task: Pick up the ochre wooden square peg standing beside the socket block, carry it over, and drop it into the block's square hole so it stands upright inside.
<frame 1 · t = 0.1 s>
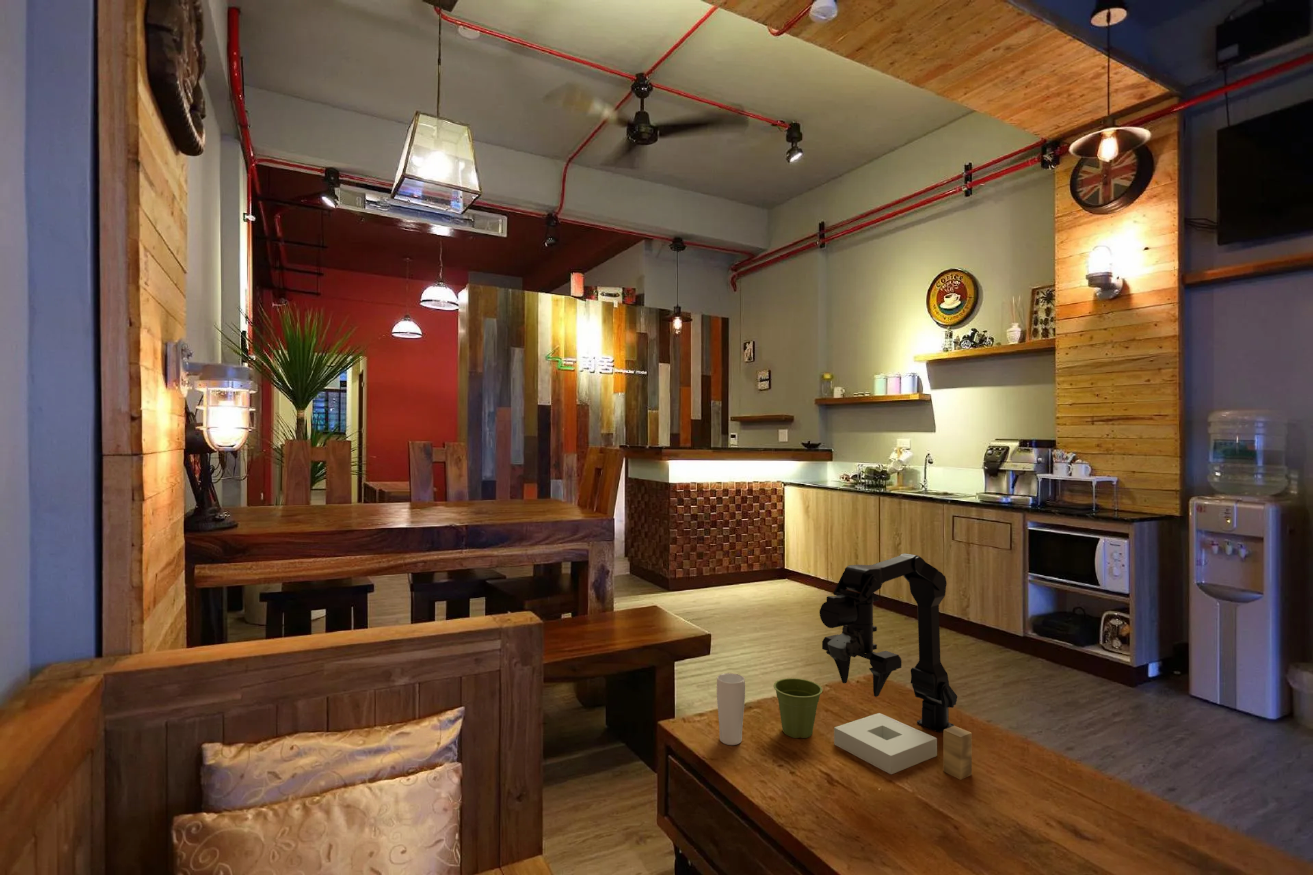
hand: (860, 689, 145), 15 cm above the table, fingers open, 9 cm apart
plant pot: (797, 733, 155), on the table
peg: (957, 772, 136), on the table
drinking glass: (730, 741, 150), on the table
socket block: (884, 749, 146), on the table
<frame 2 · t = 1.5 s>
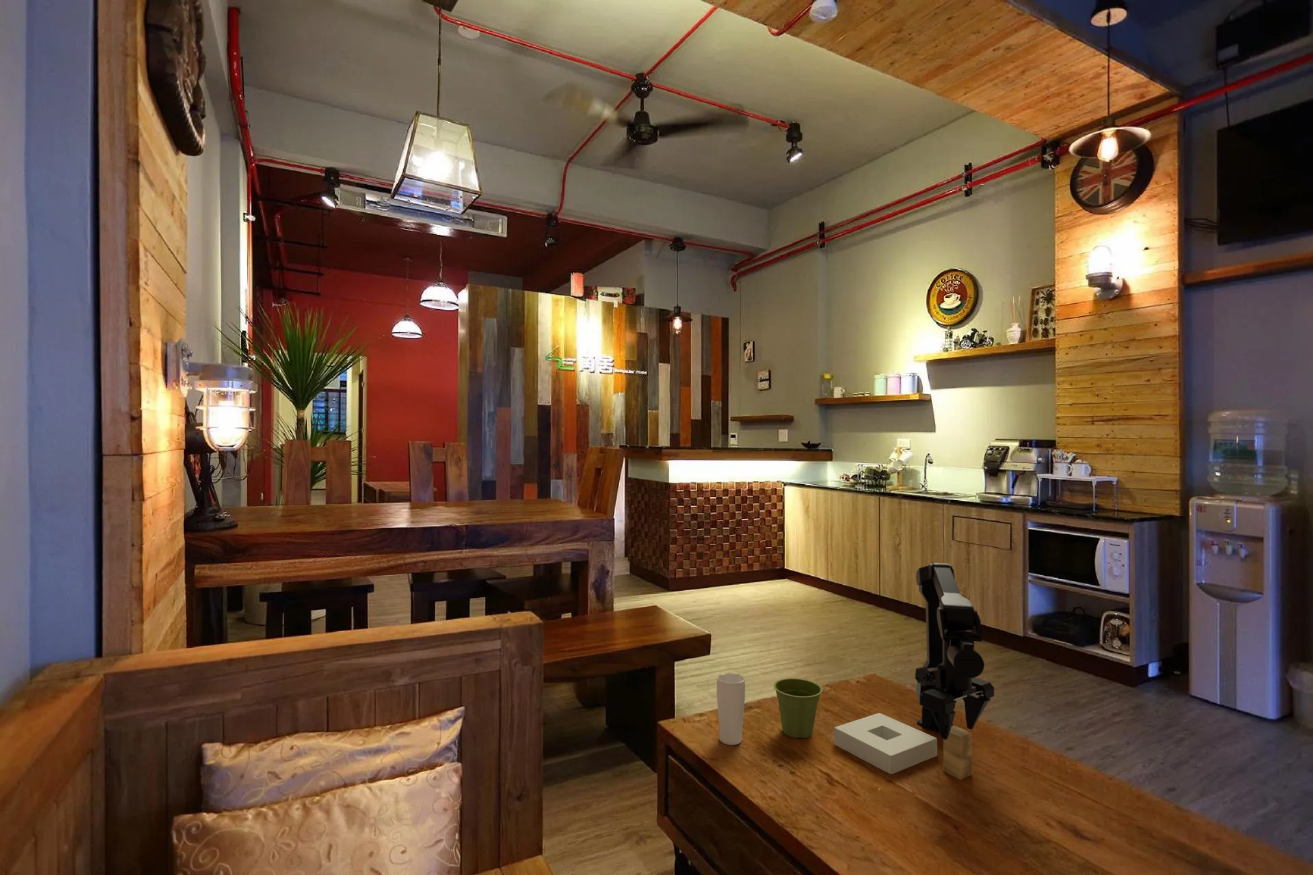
hand: (957, 733, 136), 8 cm above the table, fingers open, 9 cm apart
nothing on the table moved.
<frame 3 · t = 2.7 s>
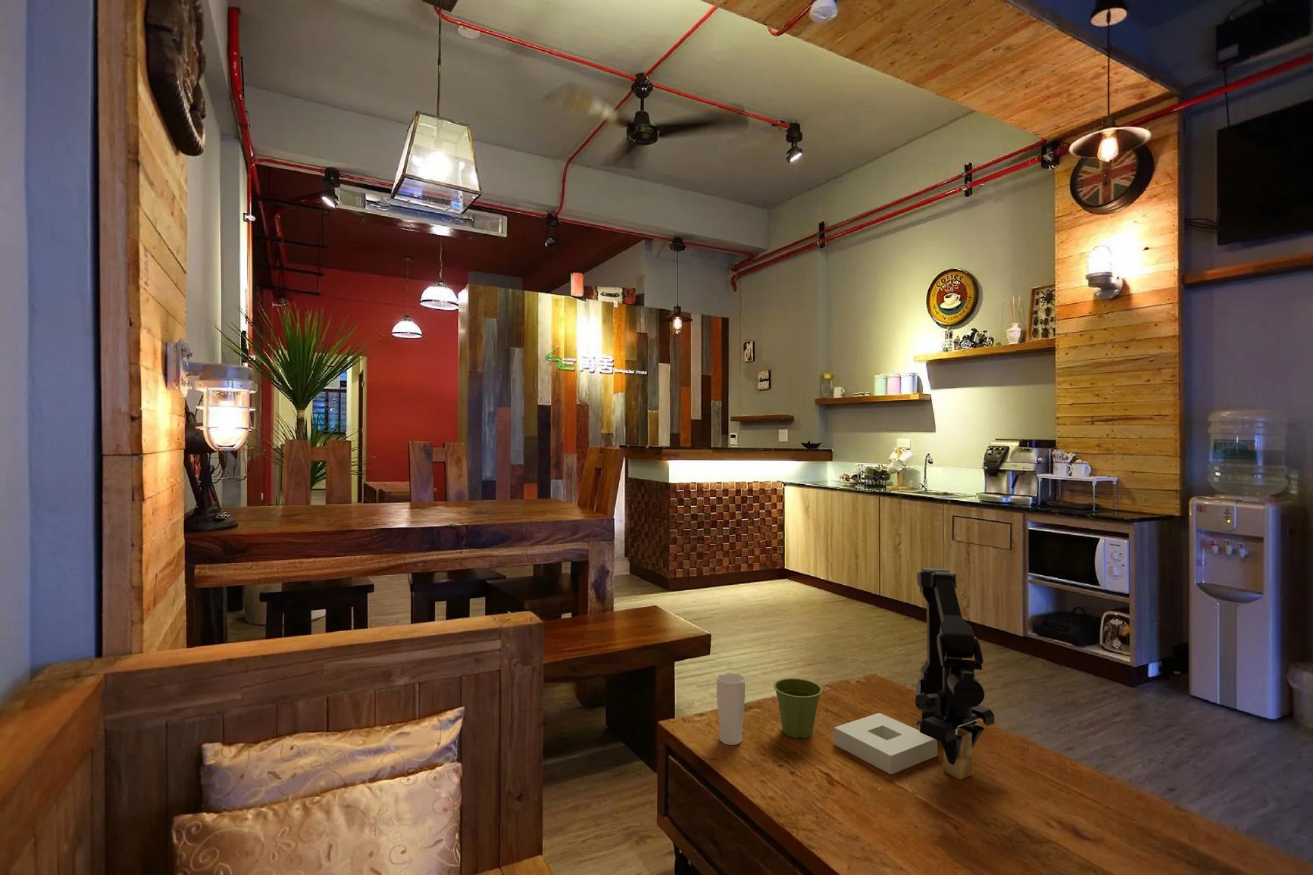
hand: (957, 761, 136), 3 cm above the table, fingers closed on peg, 4 cm apart
peg: (957, 772, 136), on the table, touching gripper
everything else where it was.
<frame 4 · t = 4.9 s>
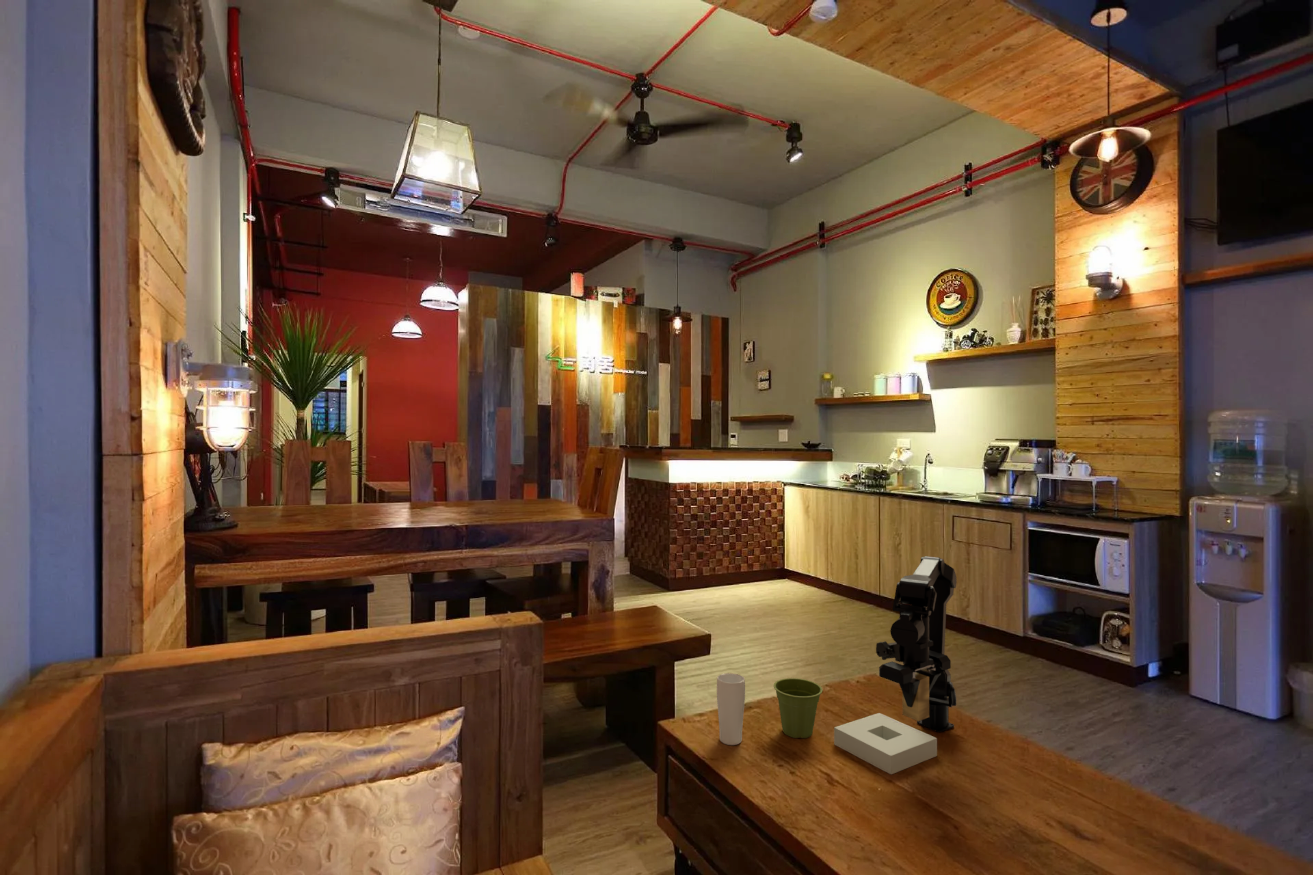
hand: (915, 704, 142), 12 cm above the table, fingers closed on peg, 4 cm apart
peg: (915, 715, 142), point 10 cm above the table, touching gripper
everything else where it was.
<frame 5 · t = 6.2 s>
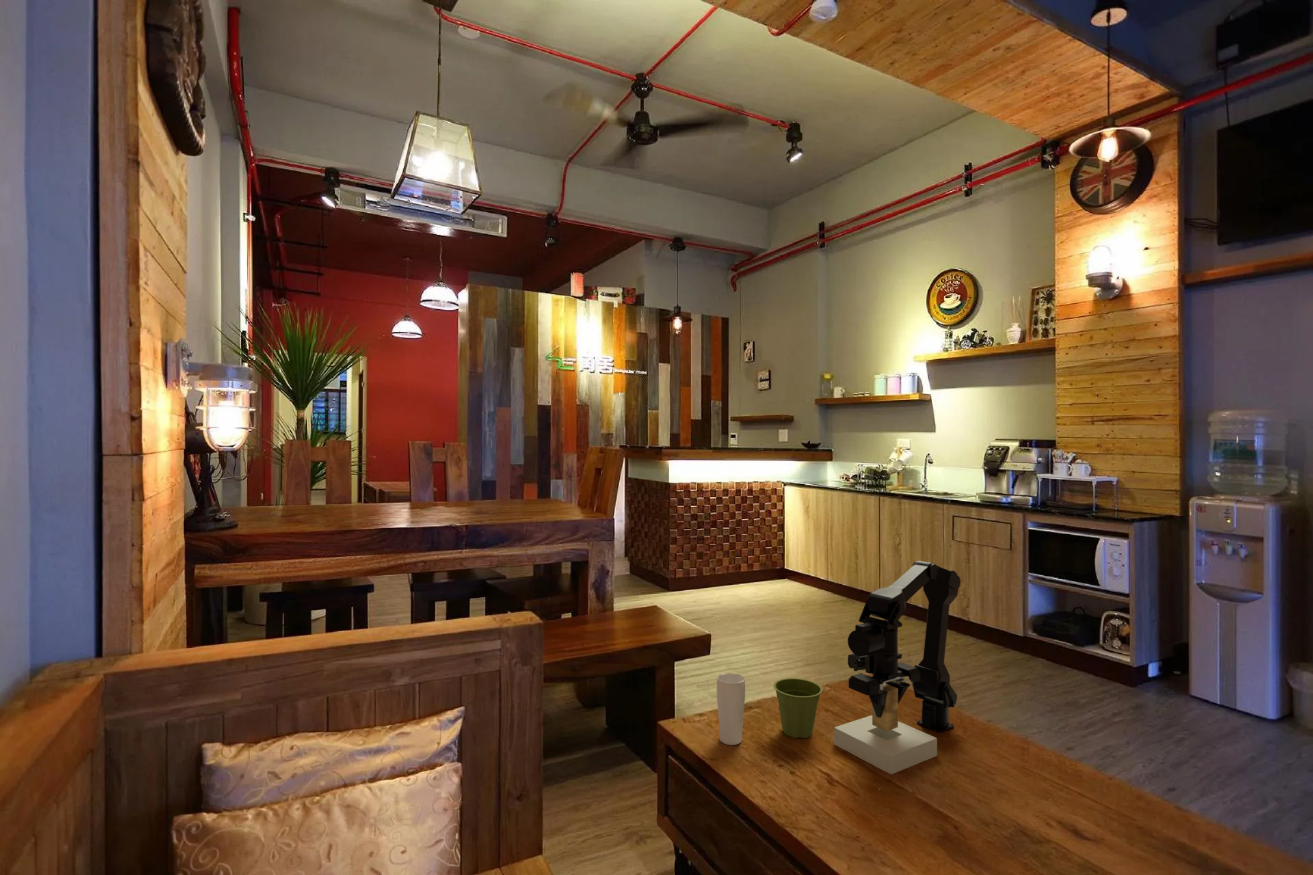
hand: (884, 714, 146), 8 cm above the table, fingers closed on peg, 4 cm apart
peg: (885, 725, 146), point 6 cm above the table, touching gripper
everything else where it was.
when the fingers open (5 cm above the table, at t = 7.1 s): peg drops 2 cm, resting in socket block.
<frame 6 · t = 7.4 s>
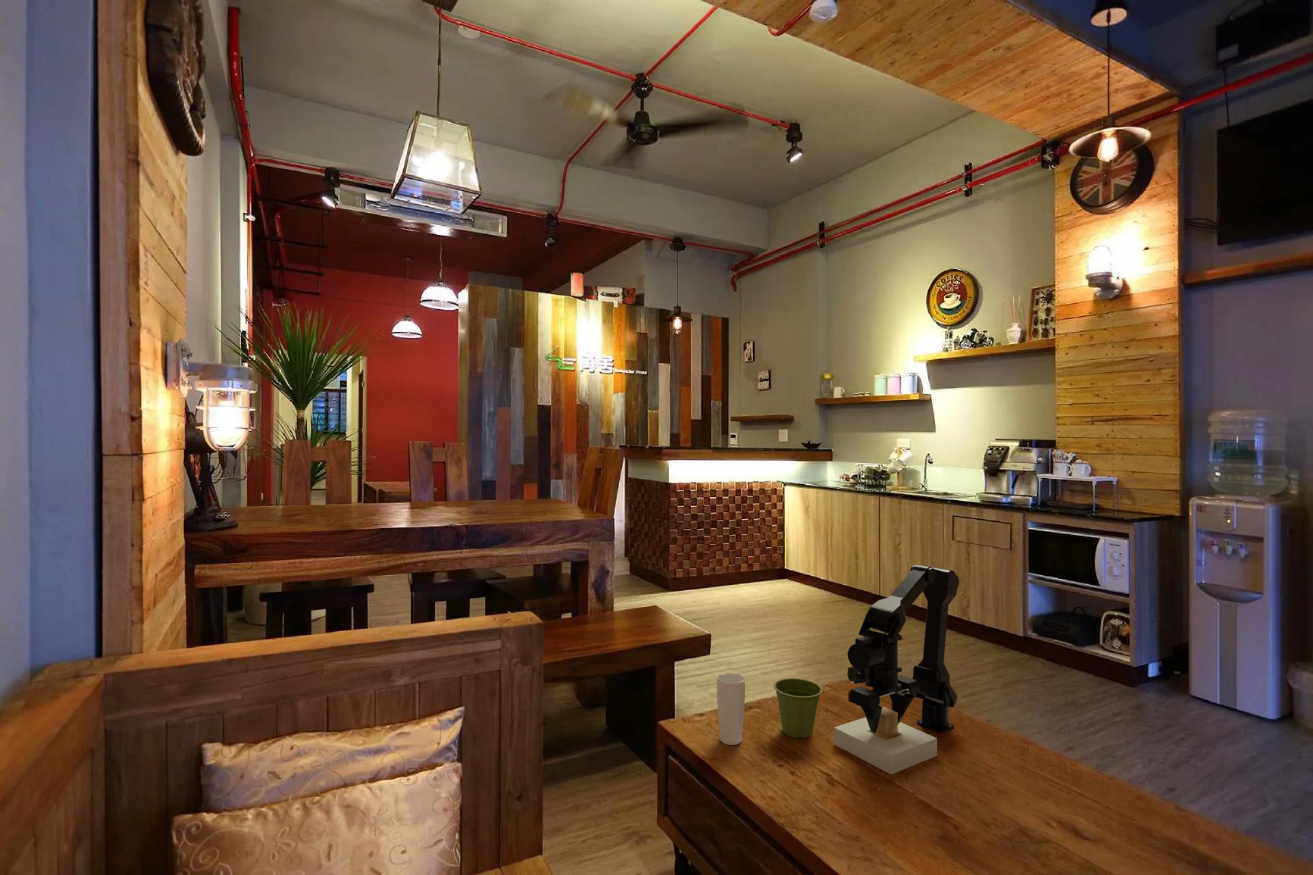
hand: (884, 728, 146), 5 cm above the table, fingers open, 8 cm apart
peg: (884, 750, 146), resting in socket block
everything else where it was.
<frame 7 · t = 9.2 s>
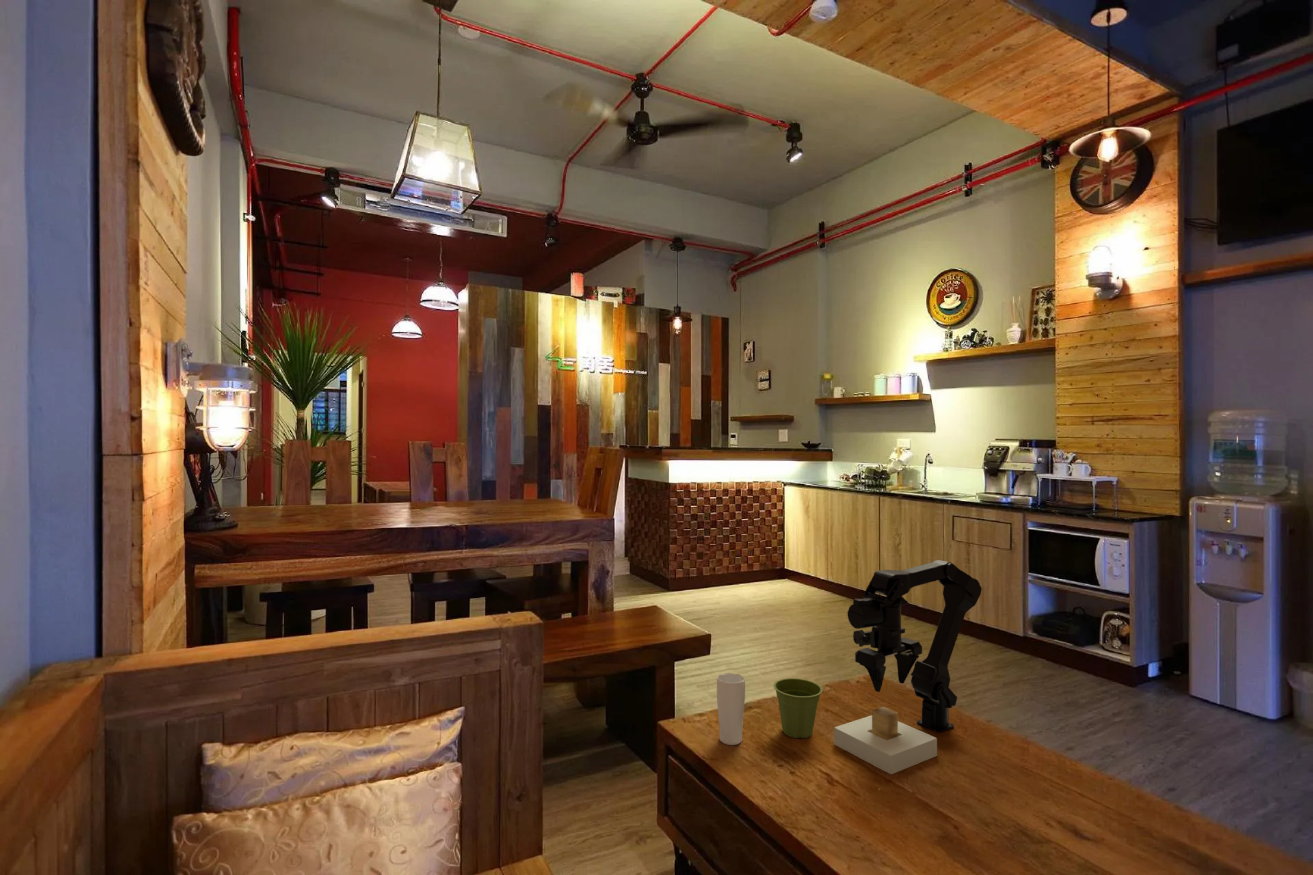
hand: (889, 687, 154), 12 cm above the table, fingers open, 9 cm apart
nothing on the table moved.
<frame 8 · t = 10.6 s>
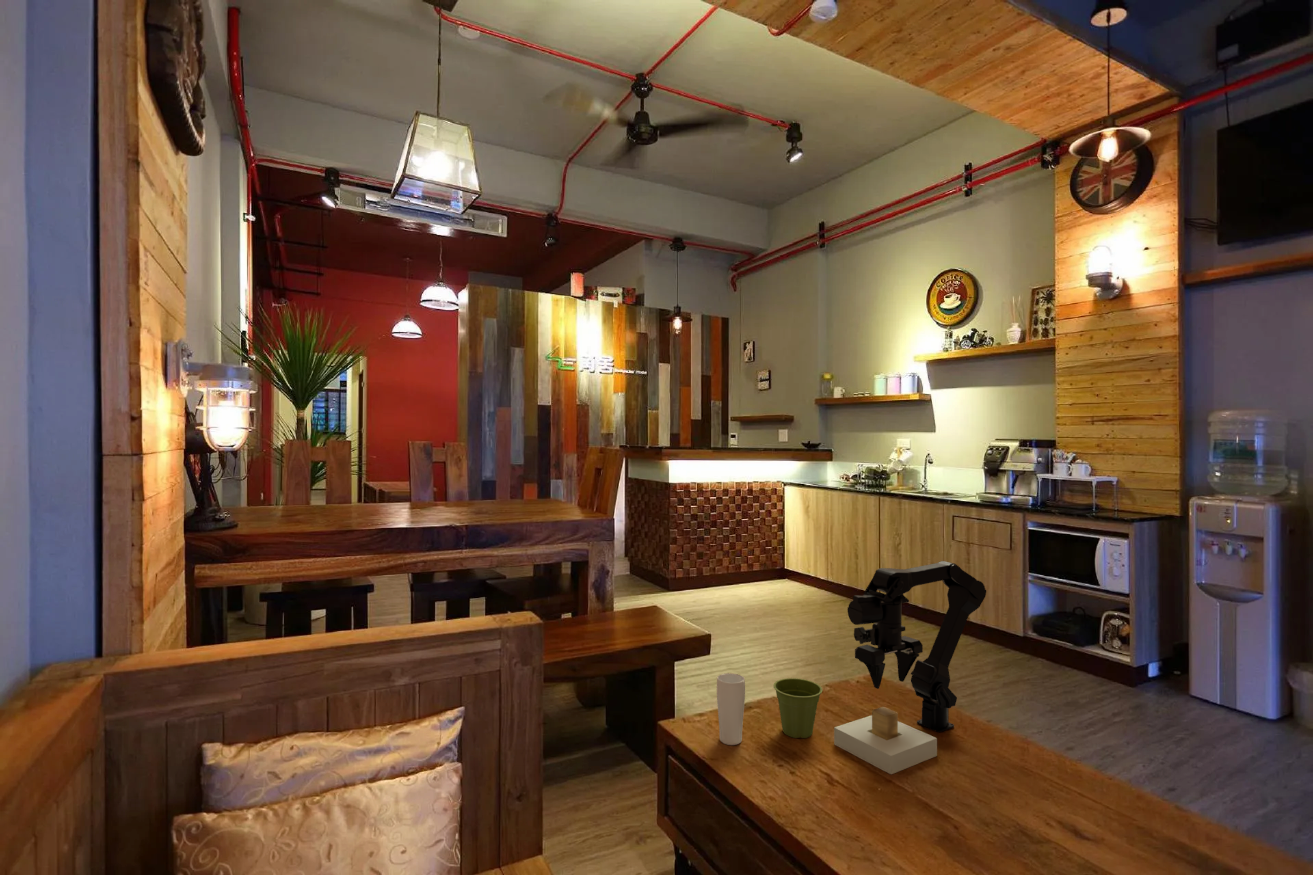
hand: (889, 684, 155), 12 cm above the table, fingers open, 9 cm apart
nothing on the table moved.
at the end: peg 0.1 cm off-centre on the socket block, point 0.0 cm above the socket block's base; peg tilted 0°; the gripper is holding nothing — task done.
